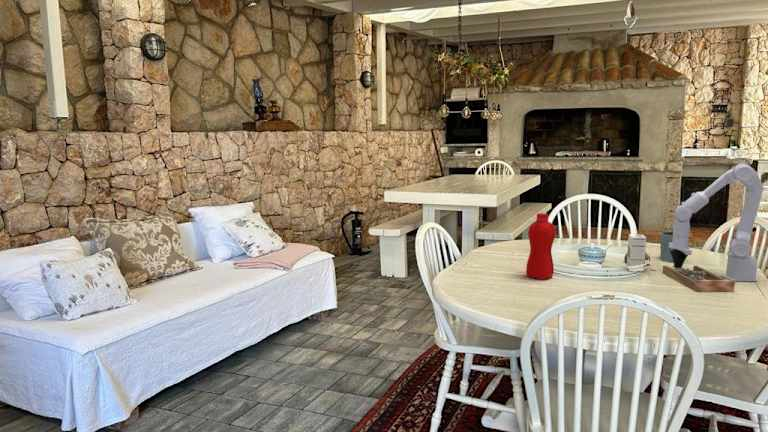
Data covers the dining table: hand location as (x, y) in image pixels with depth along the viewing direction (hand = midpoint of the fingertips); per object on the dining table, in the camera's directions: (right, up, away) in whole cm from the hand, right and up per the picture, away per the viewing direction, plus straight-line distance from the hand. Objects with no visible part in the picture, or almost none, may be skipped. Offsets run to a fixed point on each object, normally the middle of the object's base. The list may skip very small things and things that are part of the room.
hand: (677, 268), depth 228 cm
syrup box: (-16, -1, +3) cm, 16 cm away
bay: (0, -4, -13) cm, 13 cm away
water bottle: (-57, -3, -6) cm, 58 cm away
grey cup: (+7, +2, +20) cm, 21 cm away
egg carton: (0, -3, -9) cm, 10 cm away
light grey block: (-10, +1, +15) cm, 18 cm away
